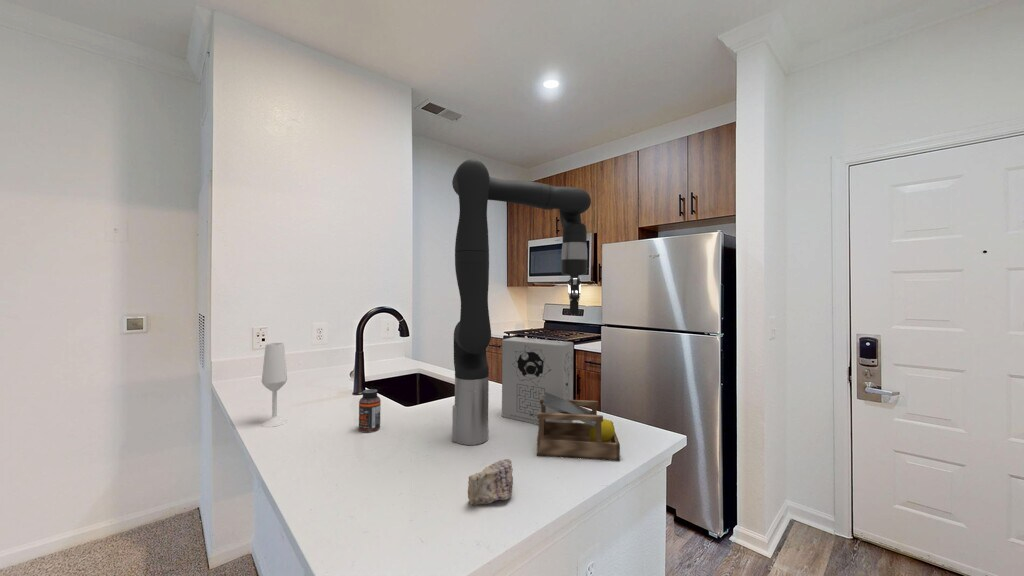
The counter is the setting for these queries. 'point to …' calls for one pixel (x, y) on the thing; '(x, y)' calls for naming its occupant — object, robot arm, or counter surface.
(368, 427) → the supplement bottle
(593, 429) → the lemon
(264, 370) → the champagne flute
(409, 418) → the counter surface
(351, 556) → the counter surface
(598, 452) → the stand
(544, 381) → the cereal box
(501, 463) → the mineral specimen
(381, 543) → the counter surface
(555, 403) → the trapdoor
